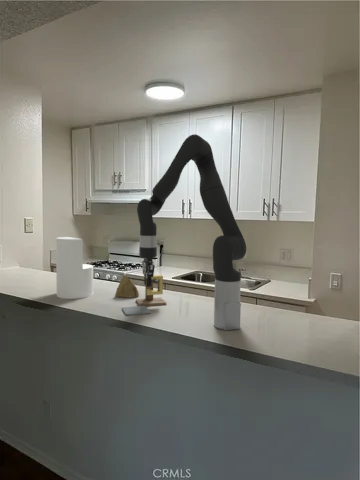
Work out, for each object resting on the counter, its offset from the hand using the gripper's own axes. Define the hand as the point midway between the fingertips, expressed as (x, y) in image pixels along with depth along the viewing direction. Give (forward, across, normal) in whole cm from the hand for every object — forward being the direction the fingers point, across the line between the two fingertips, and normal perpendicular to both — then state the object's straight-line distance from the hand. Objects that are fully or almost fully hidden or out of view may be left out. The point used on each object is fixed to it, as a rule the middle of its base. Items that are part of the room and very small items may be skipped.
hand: (147, 285), depth 143 cm
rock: (+10, +20, +5) cm, 23 cm away
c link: (+4, 0, -3) cm, 5 cm away
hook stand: (+9, +3, -3) cm, 10 cm away
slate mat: (+9, -5, +6) cm, 12 cm away
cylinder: (+10, +31, +29) cm, 44 cm away
